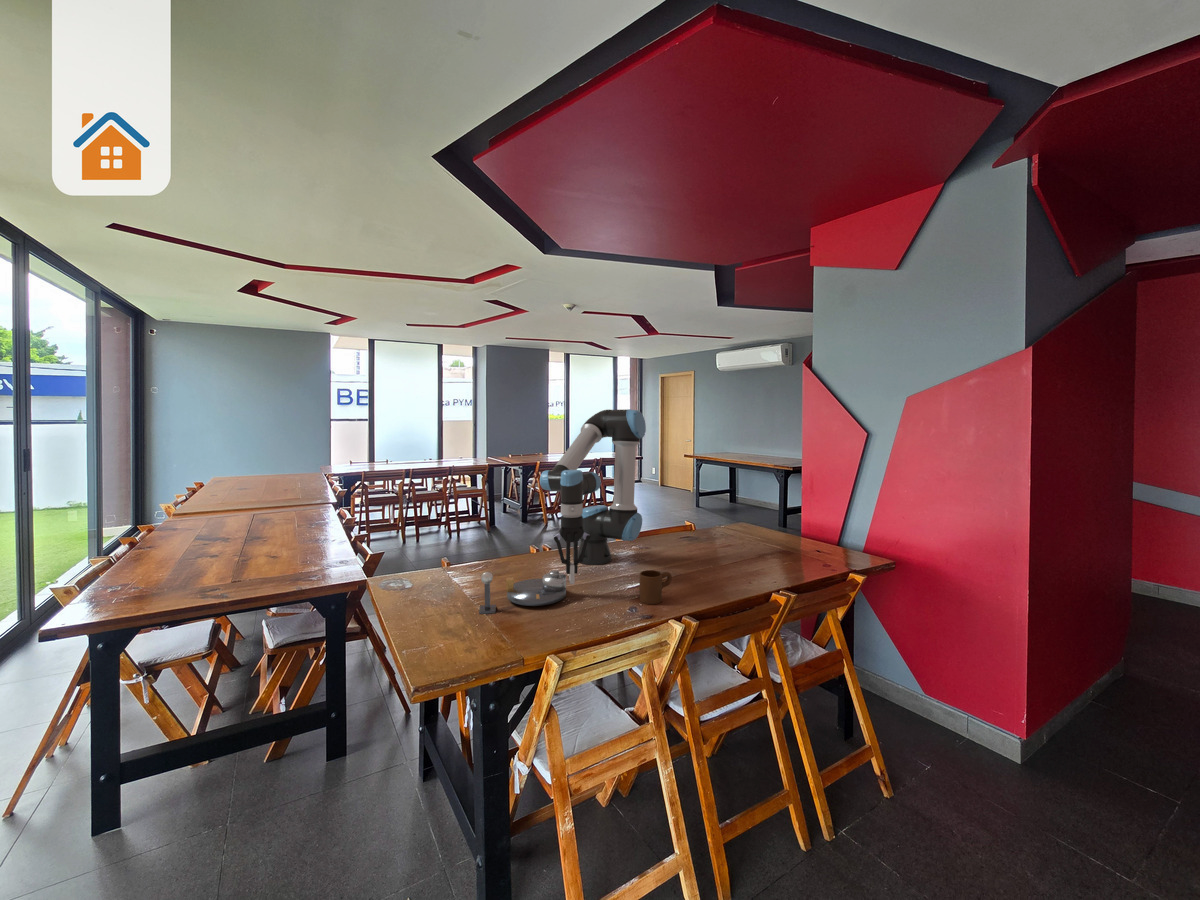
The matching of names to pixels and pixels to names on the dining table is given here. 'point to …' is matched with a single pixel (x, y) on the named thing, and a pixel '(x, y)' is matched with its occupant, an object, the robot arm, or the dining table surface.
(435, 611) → the dining table surface
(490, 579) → the globe lamp
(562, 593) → the turntable
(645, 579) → the mug
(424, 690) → the dining table surface
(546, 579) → the cover
